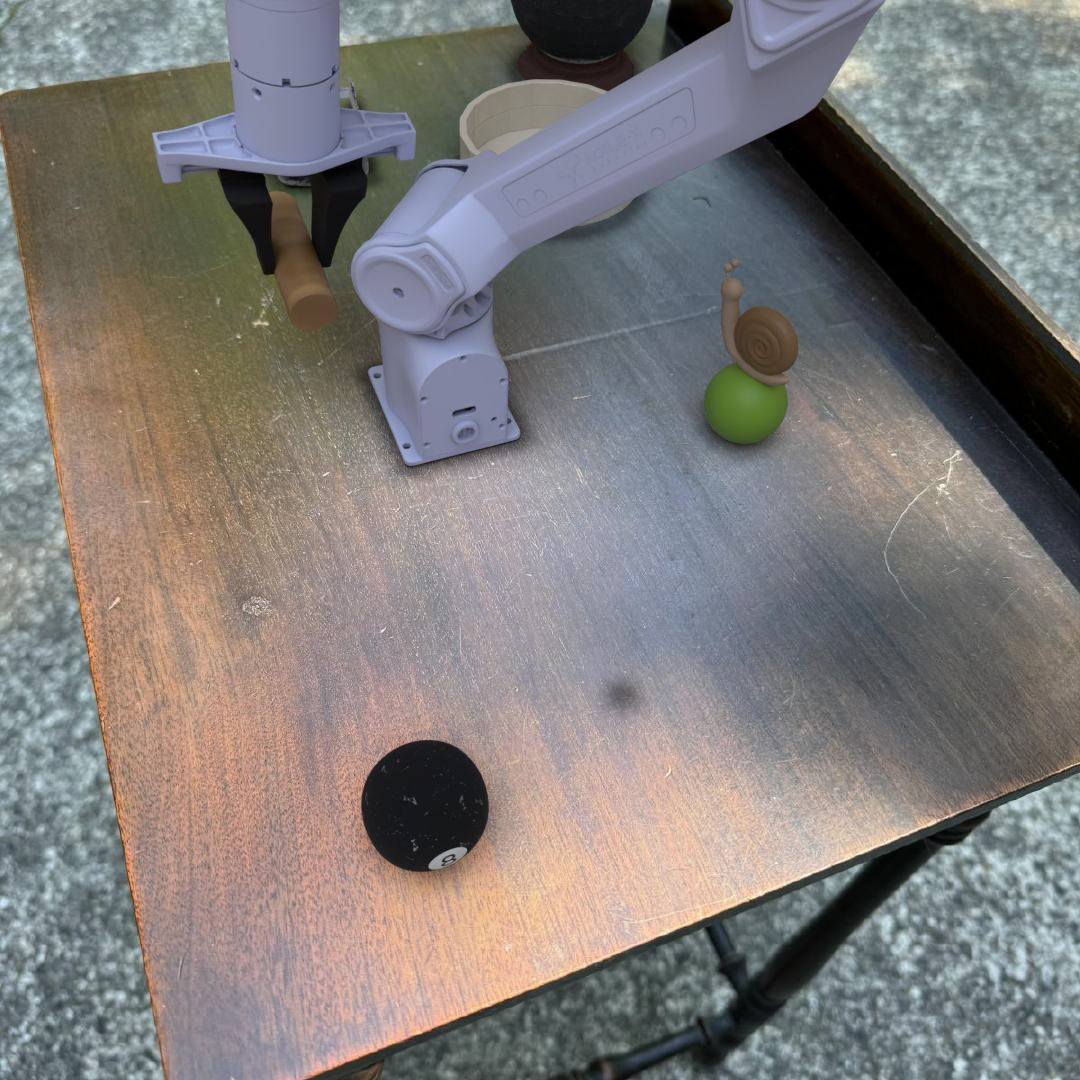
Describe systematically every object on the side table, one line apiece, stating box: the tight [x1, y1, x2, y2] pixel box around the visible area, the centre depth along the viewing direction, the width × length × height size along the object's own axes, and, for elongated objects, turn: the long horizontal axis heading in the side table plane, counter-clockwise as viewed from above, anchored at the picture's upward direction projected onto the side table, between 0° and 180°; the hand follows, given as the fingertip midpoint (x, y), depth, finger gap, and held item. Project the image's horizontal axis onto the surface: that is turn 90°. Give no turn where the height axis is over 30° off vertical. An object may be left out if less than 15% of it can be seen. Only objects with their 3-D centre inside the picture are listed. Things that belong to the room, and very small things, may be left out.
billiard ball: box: [360, 739, 490, 873], centre depth 49 cm, size 6×6×6 cm
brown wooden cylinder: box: [268, 190, 339, 332], centre depth 65 cm, size 10×3×3 cm, turn 22°
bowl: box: [458, 79, 636, 228], centre depth 85 cm, size 15×15×5 cm
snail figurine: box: [703, 258, 799, 445], centre depth 65 cm, size 5×6×12 cm
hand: (294, 260), depth 65 cm, fingers closed on brown wooden cylinder, 3 cm apart
